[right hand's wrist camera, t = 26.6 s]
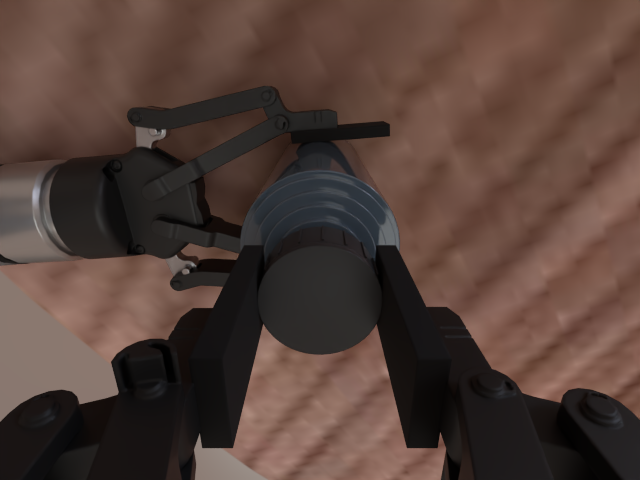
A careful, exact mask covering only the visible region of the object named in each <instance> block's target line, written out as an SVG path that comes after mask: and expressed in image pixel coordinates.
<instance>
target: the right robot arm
mask: <svg viewBox="0 0 640 480" xmlns="http://www.w3.org/2000/svg"><path fill="white" fill-rule="evenodd" d="M375 264H376V267H377V270H378V273H379V276H378V278H379V281H380V284H381V288H382V309H381V315H380V317H379V320H378V322H377V327H378V331H379V335H380V339H381V344H382V348H383V352H384V356H385V360H386V364H387V368H388V372H389V376H390V380H391V385H392V389H393V393H394V397H395V401H396V405H397V409H398V413H399V417H400V421H401V426H402V430H403V434H404V438H405V442H406V446H407V448H438V442H439V436H440V432H441V435H442V438H443V441H444V443H445V446H446V454H445V459H444V465H443V471H442V477H441V480H640V420H639V419H638V418H637V417H636V416H635V415H634V414H633V413H632V412H631V411H630V410H629V409H628V408H626V407H625V406H624V405H623V404H621V403H620V402H619V401H617V400H615V399H613V398H611V397H609V396H607V395H606V394H603V393H600V392H597V391H594V390H590V389H581V388H577V389H572V390H568V391H567V392H566V393H565V394H564V395H563V397H562V400H561V403H558V402H554V401H550V400H545V399H541V398H537V397H533V396H529V395H526V394H523V393H522V392H521V391H520V389H519V387H518V386H517V384H516V383H515V382H514V381H513V380H511V379H510V378H509V377H508V376H506V375H504V374H502V373H500V372H498V371H496V370H493V369H491V367H490V365H489V364H488V362H487V360H486V359H485V357H484V356H483V354H482V352H481V351H480V349H479V348H478V346H477V344H476V343H475V341H474V339H473V338H471V335H470V333H469V331H468V330H467V329H466V327H465V325H464V323H463V322H462V320H461V318H460V317H459V316H458V315H457V314H455V313H454V312H453V311H451V310H450V309H449V308H447V307H426V305H425V303H424V301H423V299H422V297H421V295H420V293H419V291H418V289H417V287H416V285H415V283H414V281H413V279H412V277H411V275H410V273H409V271H408V269H407V267H406V265H405V263H404V261H403V259H402V257H401V255H400V253H399V251H398V249H397V247H396V245H376V255H375ZM264 266H265V258H264V245H244V246H243V248H242V250H241V252H240V254H239V256H238V258H237V260H236V262H235V264H234V266H233V269H232V271H231V273H230V275H229V277H228V279H227V281H226V283H225V285H224V287H223V289H222V291H221V293H220V295H219V297H218V299H217V301H216V303H215V305H214V307H213V308H193V309H191V310H190V311H189V312H187V313H186V314H185V315H183V316H182V317H181V318H180V320H179V321H178V323H177V325H176V326H175V328H174V330H173V331H172V333H171V334H170V336H169V339H168V340H164V339H148V340H144V341H139V342H136V343H134V344H132V345H130V346H127V347H126V348H124V349H123V350H122V351H120V352H119V353H117V354H116V356H115V357H114V359H113V360H112V361H111V364H112V367H113V371H114V375H115V379H116V383H117V387H118V391H119V393H118V395H116V396H112V397H109V398H106V399H101V400H97V401H93V402H88V403H84V404H79V401H78V398H77V396H76V395H75V394H74V393H73V392H71V391H66V390H56V391H48V392H46V393H43V394H40V395H37V396H34V397H32V398H30V399H29V400H27V401H25V402H23V403H21V404H20V405H19V406H17V407H16V408H15V409H14V410H12V411H11V412H10V413H9V414H8V415H7V416H6V417H5V418H4V419H3V420H2V421H1V422H0V480H195V471H196V460H195V454H194V448H195V445H196V442H197V439H198V436H199V433H200V437H201V443H202V448H233V445H234V441H235V437H236V433H237V429H238V425H239V421H240V417H241V413H242V409H243V404H244V400H245V396H246V392H247V388H248V384H249V380H250V376H251V372H252V367H253V363H254V359H255V355H256V351H257V347H258V343H259V339H260V335H261V331H262V326H263V322H262V320H261V317H260V314H259V310H258V289H259V285H260V282H261V278H262V275H263V272H264V271H263V269H264Z"/></svg>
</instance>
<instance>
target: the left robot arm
mask: <svg viewBox="0 0 640 480" xmlns="http://www.w3.org/2000/svg"><path fill="white" fill-rule="evenodd" d="M262 107H263V109H264V111H265V113H266V115H267V117H268V120H266V121H264V122H263V123H261V124H259V125H257V126H255V127H253V128H251V129H249V130H248V131H246V132H244V133H242V134H240V135H238V136H236V137H234V138H233V139H231V140H229V141H227V142H225V143H223V144H221V145H219V146H218V147H216V148H214V149H212V150H210V151H208V152H206V153H204V154H203V155H201V156H199V157H197V158H195V159H193V160H191V161H190V162H188V163H184V162H182V161H180V160H179V159H177V158H175V157H173V156H171V155H170V154H168V153H166V152H164V151H163V150H161V149H159V148H157V147H156V143H157V141H158V140H161V139H164V138H167V137H168V136H169V135H170V133H171V129H174V128H179V127H183V126H187V125H191V124H195V123H199V122H203V121H208V120H212V119H216V118H220V117H224V116H228V115H233V114H237V113H241V112H245V111H249V110H253V109H257V108H262ZM127 117H128V120H129V122H130V123H131V124H132V125H133V126H135V127H136V147H135V148H133V149H132V150H130V151H129V152H128V153H126V154H118V155H106V156H94V157H81V158H73V159H70V160H63V159H56V160H45V161H34V162H22V163H11V164H3V165H0V266H1V265H13V264H28V263H40V262H58V261H75V260H81V259H83V258H86V259H99V258H112V257H126V256H136V255H142V254H148V255H153V256H156V257H158V258H161V259H165V260H166V262H167V264H168V266H169V268H170V270H171V272H172V274H173V276H174V277H173V278H172V279H171V281H170V285H171V287H172V288H173V289H174V290H177V291H182V290H185V289H189V288H193V287H196V286H200V285H204V286H221V287H224V285H225V283H226V281H227V279H228V277H229V275H230V273H231V271H232V269H233V266H234V264H235V262H236V260H228V259H203V260H199V259H198V257H197V256H186V255H184V254H183V253H182V252H181V250H182V249H183V248H184V247H185V246H187V245H188V244H189V243H192V244H195V245H199V246H203V247H218V248H221V249H225V250H228V251H232V252H235V253H239V254H240V252H241V250H240V238H241V230H242V226H239V225H236V224H232V223H229V222H226V221H224V220H223V219H222V218H220V217H216V216H213V215H211V214H210V209H209V205H208V203H207V201H206V199H205V183H204V178H203V177H201V176H203V175H204V174H206V173H208V172H210V171H212V170H214V169H216V168H218V167H220V166H222V165H223V164H225V163H227V162H229V161H231V160H233V159H235V158H237V157H239V156H241V155H243V154H244V153H246V152H248V151H250V150H252V149H254V148H256V147H258V146H260V145H262V144H264V143H266V142H267V141H269V140H271V139H273V138H275V137H277V136H279V135H281V134H284V133H287V132H291V140H292V144H299V143H311V142H324V141H336V140H348V139H361V138H373V137H385V136H390V124H388V123H386V122H384V121H380V122H368V123H356V124H344V125H337V112H336V111H333V110H330V109H325V110H313V111H301V112H292V111H289V110H288V109H287V108H286V107H285V106H284V104H283V102H282V100H281V97H280V95H279V92H278V90H277V89H276V88H274V87H272V86H262V87H258V88H254V89H250V90H246V91H242V92H238V93H234V94H230V95H226V96H222V97H218V98H213V99H209V100H205V101H201V102H197V103H193V104H189V105H185V106H181V107H177V108H173V109H168V108H161V107H154V106H148V107H137V108H131V109H130V110H129V111H128V114H127Z"/></svg>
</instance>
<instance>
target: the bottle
mask: <svg viewBox="0 0 640 480" xmlns="http://www.w3.org/2000/svg"><path fill="white" fill-rule="evenodd" d="M322 225H324V227H330V228H335V229H339V230H342V231H343V230H345V231H346V233H348V234H350V235H352V236H354V237H355V238H356V239H357V240H359V241H360V242H361V241H362V242H363V244H364V246H365V248H366V249H367V250H368V252H369V253H370V255H371V257H372V258H374V260H375V255H376V245H396V247H397V249H398V251H400V237H399V230H398V226H397V222H396V219H395V217H394V215H393V213H392V211H391V209H390V207H389V206H388V204H387V202H386V201H385V199H384V197H383V196H382V194H381V192H380V191H379V189H378V187H377V186H376V184H375V182H374V181H373V179H372V177H371V176H370V174H369V172H368V171H367V169H366V167H365V166H364V164H363V162H362V161H361V159H360V157H359V156H358V154H357V152H356V151H355V149H354V148H353V146H352V145H351V144H350V143H349V142H348V141H347V140H336V141H324V142H311V143H299V144H292V142H291V143H290V144H289V145H288V147H287V148H286V149H285V151H284V152H283V154H282V156H281V157H280V159H279V161H278V162H277V164H276V166H275V167H274V169H273V171H272V172H271V174H270V176H269V177H268V179H267V181H266V182H265V184H264V186H263V187H262V189H261V191H260V192H259V194H258V196H257V197H256V199H255V201H254V202H253V204H252V206H251V207H250V209H249V211H248V213H247V215H246V217H245V220H244V223H243V226H242V230H241V238H240V250H242V248H243V246H244V245H264V258H265V263H266V260H267V256H268V254H269V253H270V254H271V252H272V250H273V249H274V248H275V246H276V245H277V244H278V243H279V242H280V241H281V239H282V238H283V239H284V238H285V237H287V236H288V235H290V234H292V233H294V232H296V231H299V230H300V228H302V229H305V228H309V227H322Z"/></svg>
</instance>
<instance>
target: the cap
mask: <svg viewBox="0 0 640 480" xmlns="http://www.w3.org/2000/svg"><path fill="white" fill-rule="evenodd" d="M263 271H264V272H263V275H262V278H261V282H260V285H259V289H258V310H259V314H260V317H261V320H262V322H263V324H264V325H265V327H266V328H267V330H268V331H269V332H270V333H271V334H272V336H273V337H274V338H276V339H277V340H278V341H279V342H281V343H282V344H284V345H285V346H287V347H289V348H291V349H294V350H297V351H299V352H303V353H308V354H321V355H323V354H332V353H337V352H340V351H344V350H346V349H349V348H351V347H353V346H354V345H356V344H358V343H359V342H361V341H362V340H363V339H364V338H366V337H367V336H368V335H369V334H370V332H371V331H372V330H373V329H374V327H375V325H376V324H377V322H378V320H379V317H380V315H381V309H382V288H381V284H380V281H379V278H378V276H379V273H378V270H377V267H376V264H375V260H374V258H372V257H371V255H370V253H369V252H368V250H367V249H366V248H365V246H364V244H363V242H362V241H361V242H360V241H359V240H357V239H356V238H355V237H354V236H352V235H350V234H348V233H346V231H345V230H343V231H342V230H339V229H335V228H330V227H324V225H322V227H309V228H305V229H302V228H300V230H299V231H296V232H294V233H292V234H290V235H288V236H287V237H285V238H284V239H283V238H282V239H281V241H280V242H279V243H278V244H277V245H276V246H275V248H274V249H273V250H272V252H271V254H270V253H269V254H268V256H267V260H266V263H265V266H264V269H263Z"/></svg>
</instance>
